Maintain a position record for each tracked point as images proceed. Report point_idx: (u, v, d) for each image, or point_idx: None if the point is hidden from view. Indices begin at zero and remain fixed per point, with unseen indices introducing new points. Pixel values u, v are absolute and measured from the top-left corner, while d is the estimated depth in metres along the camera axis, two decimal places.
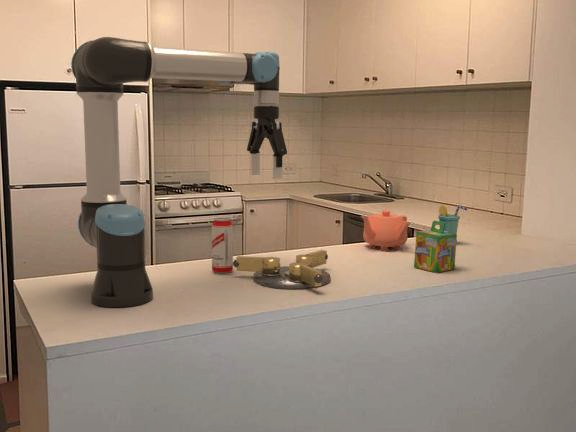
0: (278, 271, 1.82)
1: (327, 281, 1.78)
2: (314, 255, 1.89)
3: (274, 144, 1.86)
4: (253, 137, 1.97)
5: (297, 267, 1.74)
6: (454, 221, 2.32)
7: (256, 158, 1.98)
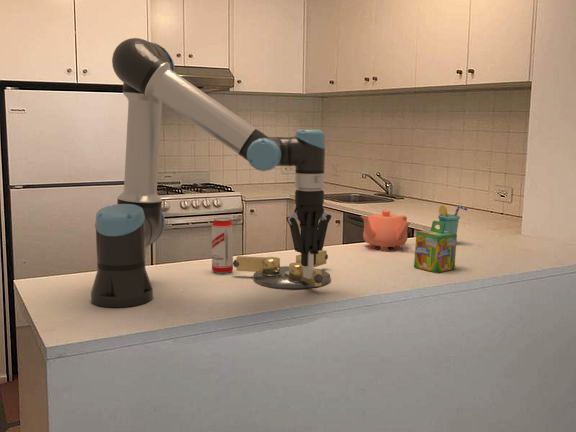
0: (278, 271, 1.82)
1: (327, 281, 1.78)
2: None
3: (301, 239, 1.68)
4: (318, 230, 1.70)
5: (297, 267, 1.74)
6: (454, 221, 2.32)
7: None
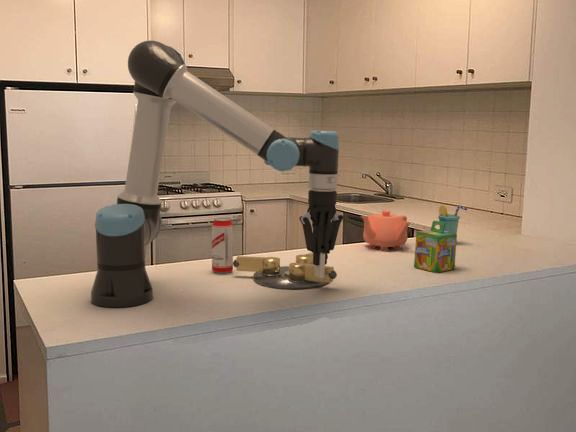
0: (278, 271, 1.82)
1: None
2: None
3: (313, 239, 1.70)
4: (330, 230, 1.72)
5: (302, 267, 1.74)
6: (454, 221, 2.32)
7: None
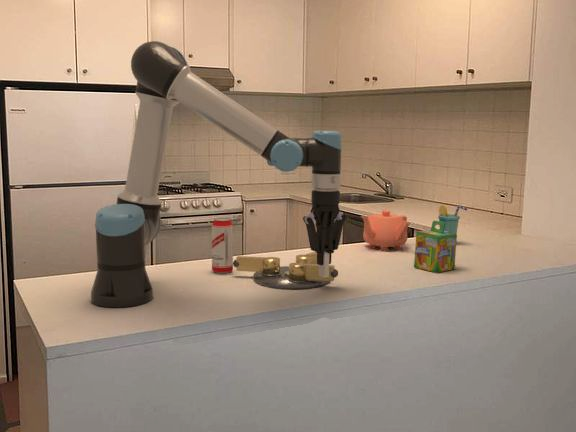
0: (278, 271, 1.82)
1: (327, 281, 1.78)
2: (314, 255, 1.89)
3: (317, 238, 1.70)
4: (334, 230, 1.73)
5: (303, 267, 1.74)
6: (454, 221, 2.32)
7: None
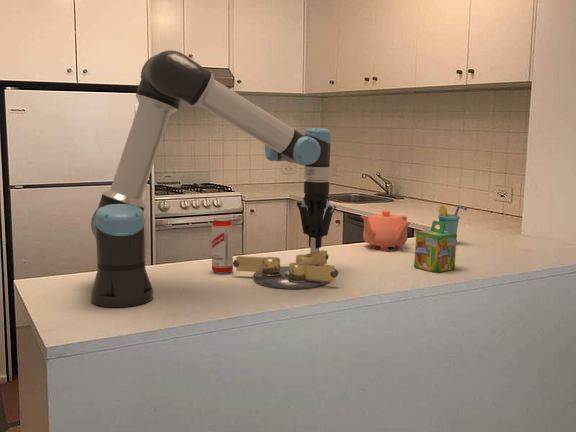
0: (278, 271, 1.82)
1: (327, 281, 1.78)
2: (314, 255, 1.89)
3: None
4: None
5: (303, 267, 1.74)
6: (454, 221, 2.32)
7: None
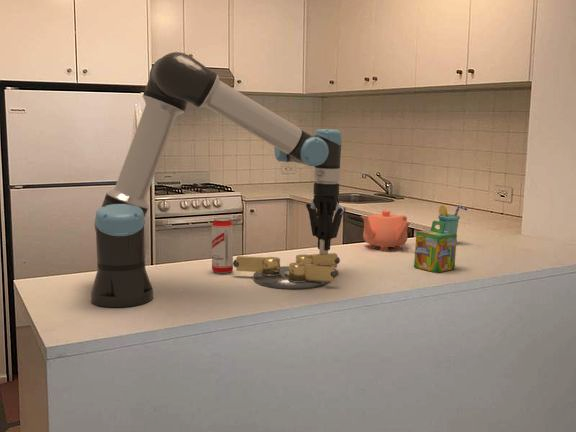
0: (278, 271, 1.82)
1: (327, 281, 1.78)
2: (317, 257, 1.87)
3: None
4: None
5: (303, 267, 1.74)
6: (454, 221, 2.32)
7: None
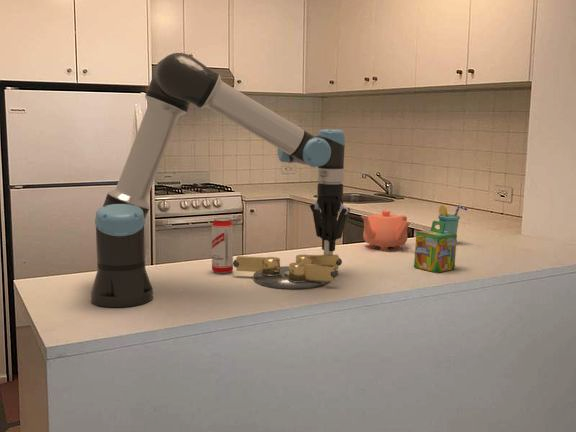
0: (278, 271, 1.82)
1: (327, 281, 1.78)
2: (317, 257, 1.86)
3: None
4: None
5: (303, 267, 1.74)
6: (454, 221, 2.32)
7: None
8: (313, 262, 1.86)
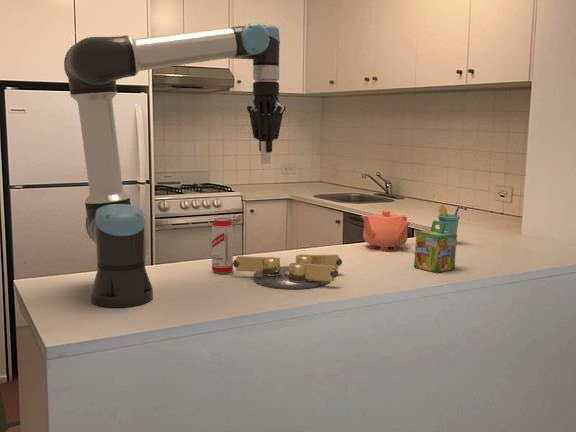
0: (278, 271, 1.82)
1: (327, 281, 1.78)
2: (317, 257, 1.86)
3: None
4: None
5: (303, 267, 1.74)
6: (454, 221, 2.32)
7: None
8: (313, 262, 1.86)
